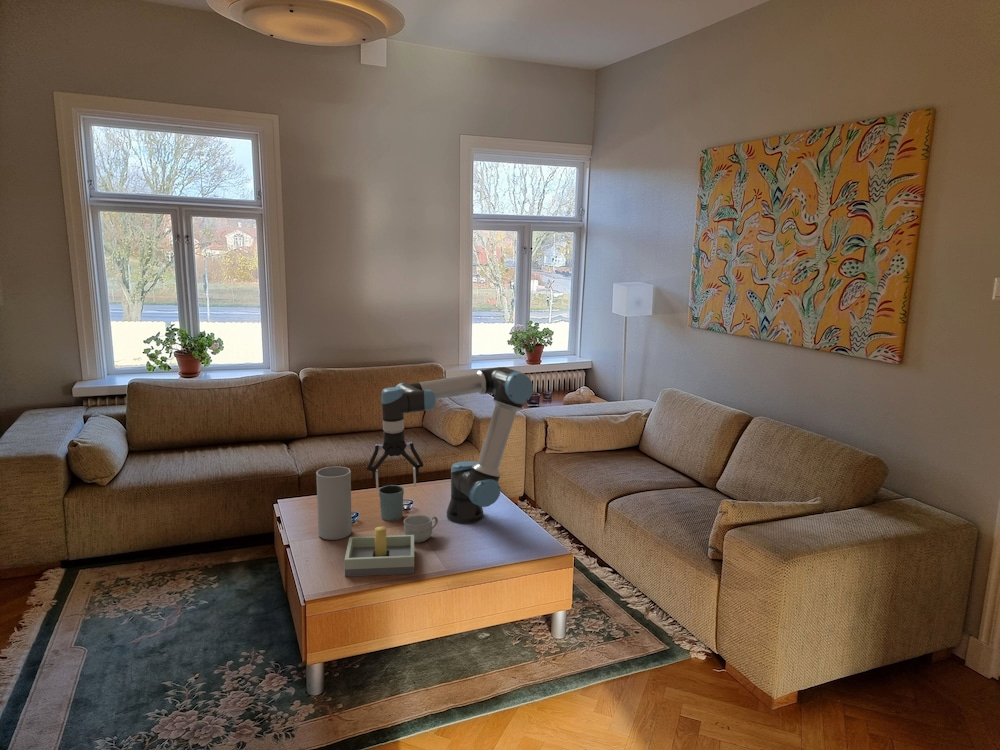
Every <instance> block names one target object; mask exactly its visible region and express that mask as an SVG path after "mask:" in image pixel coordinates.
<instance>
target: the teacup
mask: <svg viewBox="0 0 1000 750" xmlns="http://www.w3.org/2000/svg"><path fill="white" fill-rule="evenodd" d="M433 520H434V522H433ZM438 522H439V519H438V517H437V516H436V515H432V516H428V515H423V514H422V515H421V514H416V515H411V516H408V517H406V518H404V520H403V530H404V535H414V543H422V542H427V540H428V539H429V538H430V537H431V536H432V533H433V529H434V528H435V527H436V526H437V524H438Z"/></svg>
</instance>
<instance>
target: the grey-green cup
mask: <svg viewBox="0 0 1000 750" xmlns="http://www.w3.org/2000/svg"><path fill="white" fill-rule="evenodd" d="M404 491H405V489H404V487H403V486H401V485H397V484H390V485H389V484H388V485H384V486H381V487H380V488H378V495H379V505H380V506H379V509H380V518H381V519H382V520H383V521H388V522H392V521H398V520H401V519H402V517H403V505H404V493H405V492H404Z"/></svg>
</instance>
